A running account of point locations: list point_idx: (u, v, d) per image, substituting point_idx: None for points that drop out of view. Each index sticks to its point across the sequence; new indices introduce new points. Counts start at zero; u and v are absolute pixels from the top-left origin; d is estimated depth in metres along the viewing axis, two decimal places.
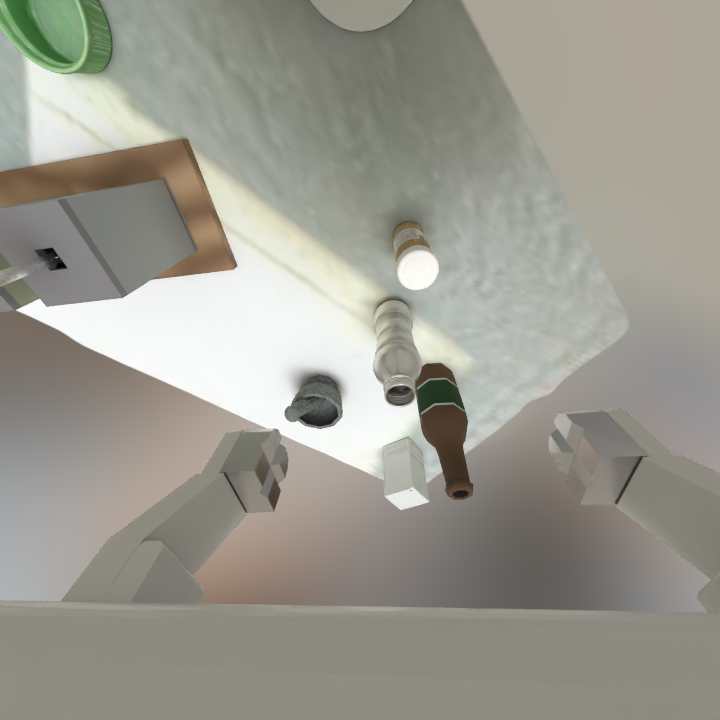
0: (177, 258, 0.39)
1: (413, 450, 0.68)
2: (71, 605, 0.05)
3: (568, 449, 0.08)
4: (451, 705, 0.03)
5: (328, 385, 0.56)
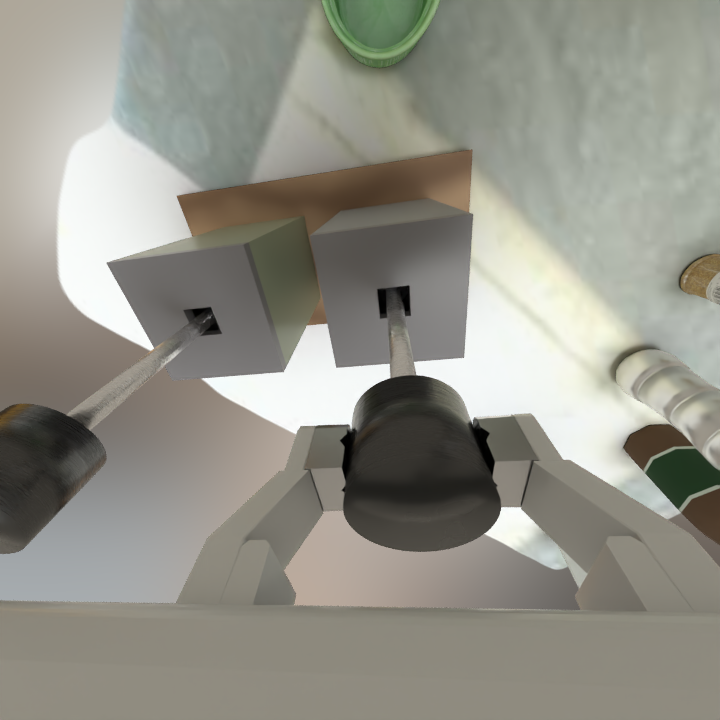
0: None
1: None
2: (71, 604, 0.05)
3: None
4: (451, 705, 0.03)
5: None
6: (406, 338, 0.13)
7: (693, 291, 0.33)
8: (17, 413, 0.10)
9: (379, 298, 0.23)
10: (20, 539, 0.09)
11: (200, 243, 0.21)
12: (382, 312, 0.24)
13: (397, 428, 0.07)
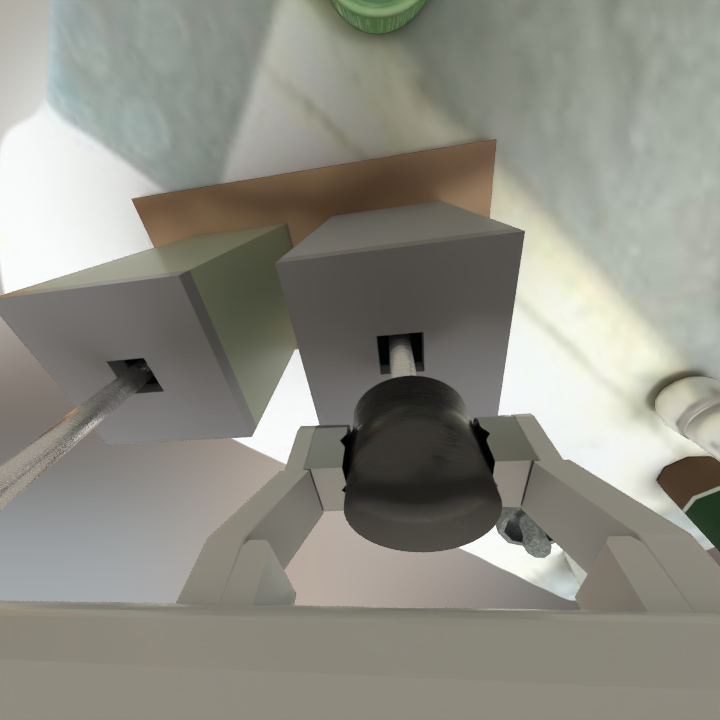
0: None
1: None
2: (71, 605, 0.05)
3: None
4: (451, 705, 0.03)
5: None
6: (406, 337, 0.13)
7: None
8: None
9: None
10: None
11: (135, 266, 0.15)
12: None
13: (398, 429, 0.07)
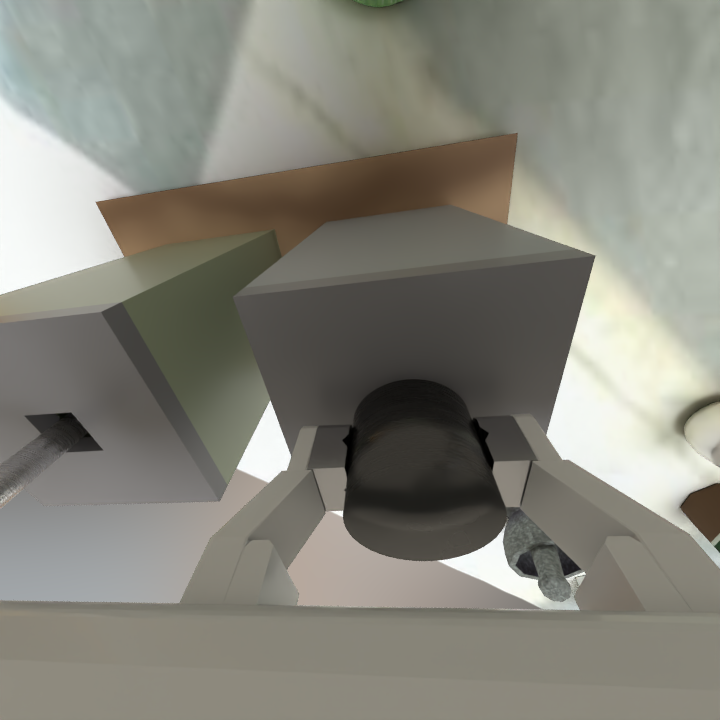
0: None
1: None
2: (71, 604, 0.05)
3: None
4: (451, 705, 0.03)
5: None
6: None
7: None
8: None
9: None
10: None
11: (69, 290, 0.12)
12: None
13: (399, 435, 0.07)
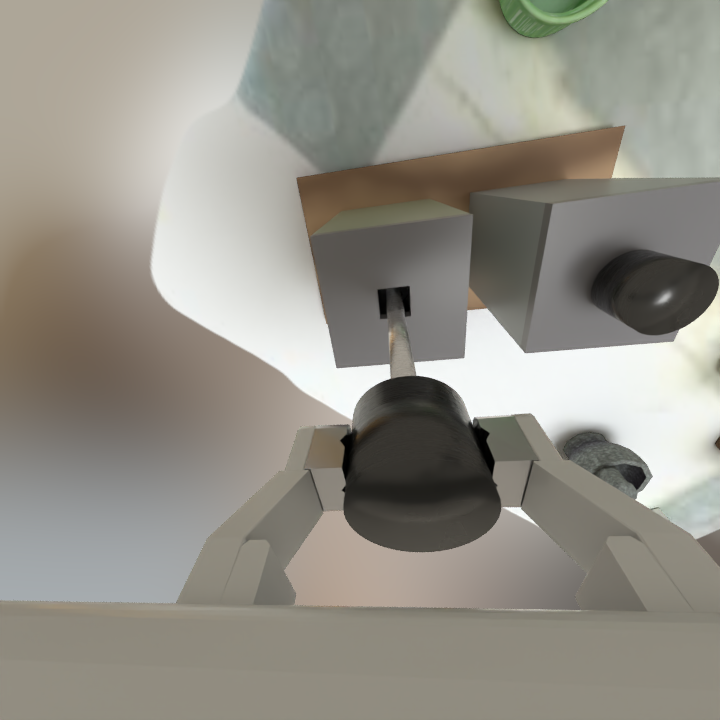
0: None
1: None
2: (71, 604, 0.05)
3: None
4: (451, 705, 0.03)
5: (624, 447, 0.43)
6: None
7: None
8: (423, 386, 0.08)
9: None
10: (474, 535, 0.07)
11: (384, 219, 0.19)
12: None
13: (662, 259, 0.14)
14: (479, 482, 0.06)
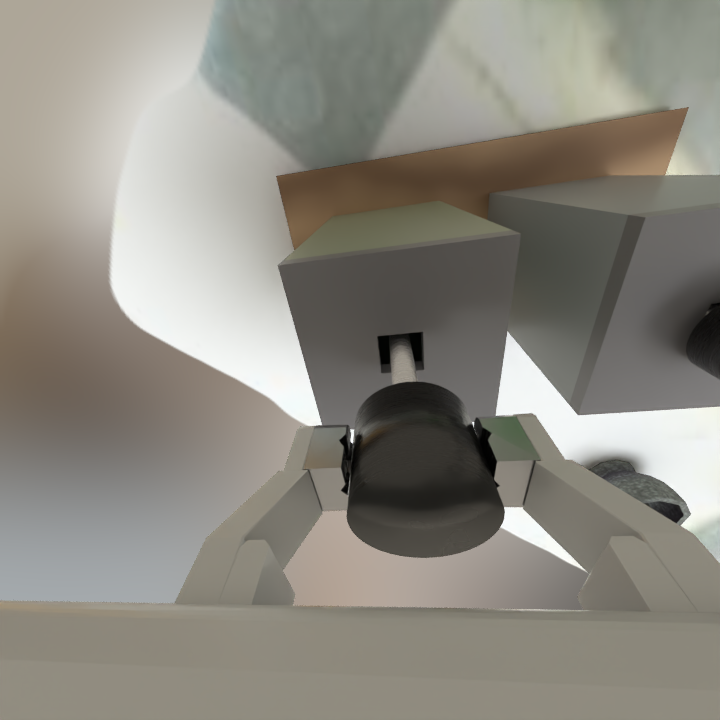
0: None
1: None
2: (71, 604, 0.05)
3: None
4: (451, 705, 0.03)
5: (656, 479, 0.38)
6: None
7: None
8: (425, 392, 0.08)
9: None
10: (477, 541, 0.07)
11: (386, 234, 0.14)
12: None
13: None
14: (483, 491, 0.06)
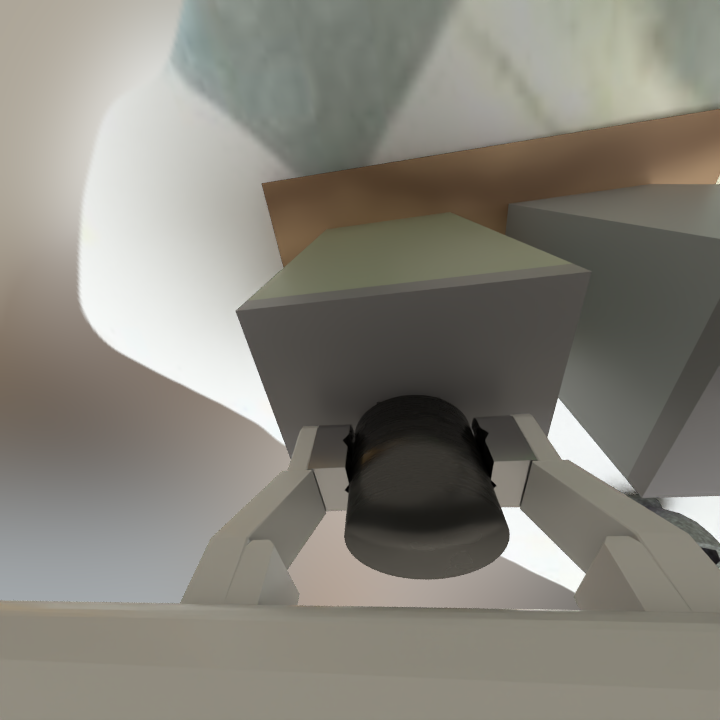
0: None
1: None
2: (71, 604, 0.05)
3: (481, 453, 0.08)
4: (451, 705, 0.03)
5: (688, 518, 0.34)
6: None
7: None
8: (426, 406, 0.08)
9: None
10: (481, 563, 0.07)
11: (389, 261, 0.11)
12: None
13: None
14: (486, 513, 0.06)
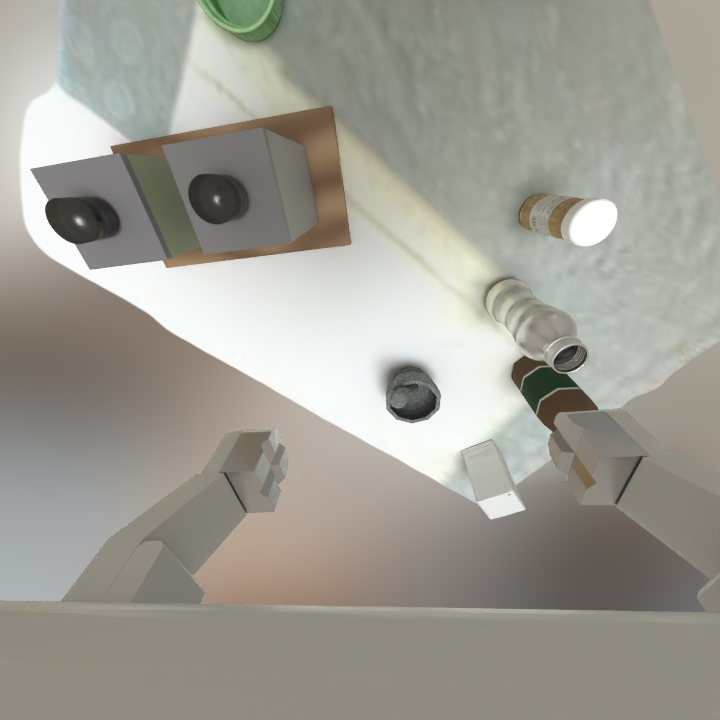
0: (311, 224, 0.38)
1: (499, 453, 0.63)
2: (71, 604, 0.05)
3: (568, 449, 0.08)
4: (451, 705, 0.03)
5: (425, 374, 0.53)
6: None
7: (526, 225, 0.41)
8: (85, 196, 0.26)
9: None
10: (88, 232, 0.25)
11: None
12: None
13: None
14: (73, 206, 0.24)
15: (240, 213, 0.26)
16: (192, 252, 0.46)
